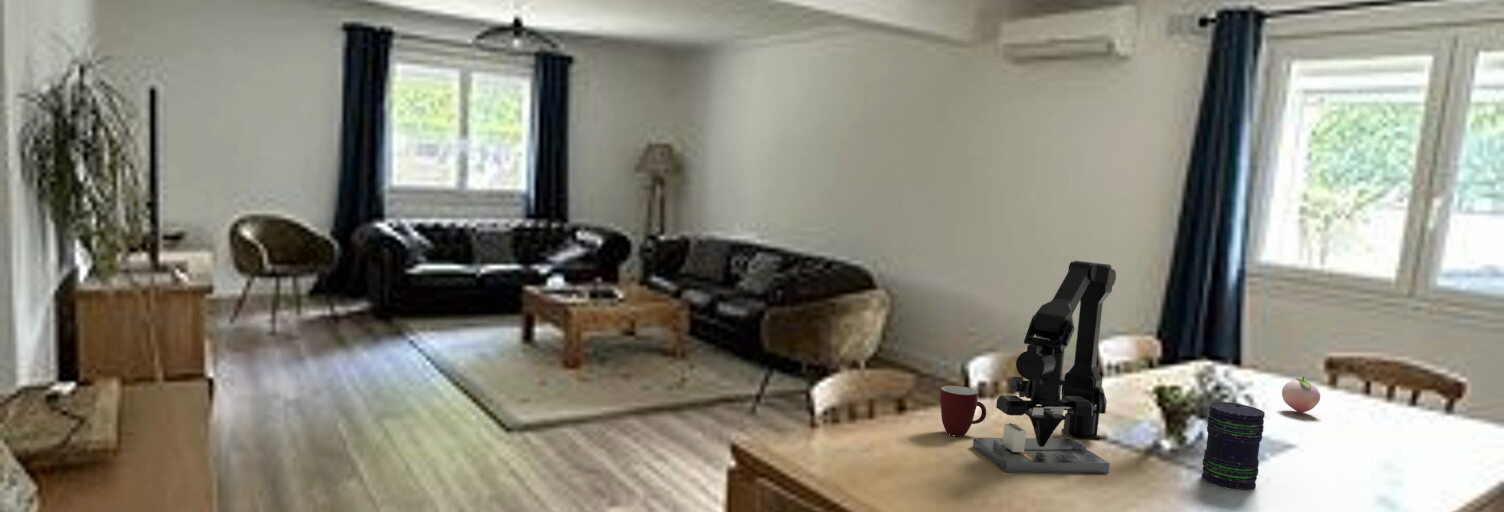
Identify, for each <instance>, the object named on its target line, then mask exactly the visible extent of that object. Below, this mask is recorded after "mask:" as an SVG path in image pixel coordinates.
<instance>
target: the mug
mask: <svg viewBox="0 0 1504 512" xmlns="http://www.w3.org/2000/svg"><path fill="white" fill-rule="evenodd" d="M939 397H940V399H939V402H940V414H941V422H942V424H943V425H942V426H943V427H944V430H945V432H947V433H948V434H947V433H946V434H947V435H949V434H950V435H949V436H951V435H955V436H954V437H957V436H962V437H964V435H967V433H968V432H969V429H970V428H971V426H972V425H977V424H980V423H982V422H983V421H984V420H985V419H986V417H987V408H986V405H985V404H984V403H982V402H981V401H978V400H979V399H978V397H979V391H977V390H976V389H974V388H971V387H967V386H962V385H961V386H960V385H959V386H958V385H946V386H942V387H941V388H940V396H939ZM977 407H979V408H980V409H981V415H980V417H978V418H977V419H974V418H975V414H976V410H977Z"/></svg>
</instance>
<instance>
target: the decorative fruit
mask: <svg viewBox="0 0 1504 512" xmlns="http://www.w3.org/2000/svg"><path fill="white" fill-rule="evenodd" d="M1281 397H1282V400H1283V402H1284V403H1285V404H1286V405H1288V407H1290V408H1291V409H1293V410H1294V411H1295V412H1297V413H1298V414H1303V413H1307V412H1309V411H1312V410H1313V409H1315V407H1317V405H1318V404H1319V403H1320V401H1321V393H1320V391H1319V389H1318V387H1317V386H1315V384H1312V383H1310V382H1308V381H1307V380H1306V379H1305V376H1302V378H1301V377H1300V378H1299V377H1298V378H1297V377H1296V379H1294V380H1290V381H1288V382H1286V383H1285V384H1284V385H1283V387H1282V389H1281Z"/></svg>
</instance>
